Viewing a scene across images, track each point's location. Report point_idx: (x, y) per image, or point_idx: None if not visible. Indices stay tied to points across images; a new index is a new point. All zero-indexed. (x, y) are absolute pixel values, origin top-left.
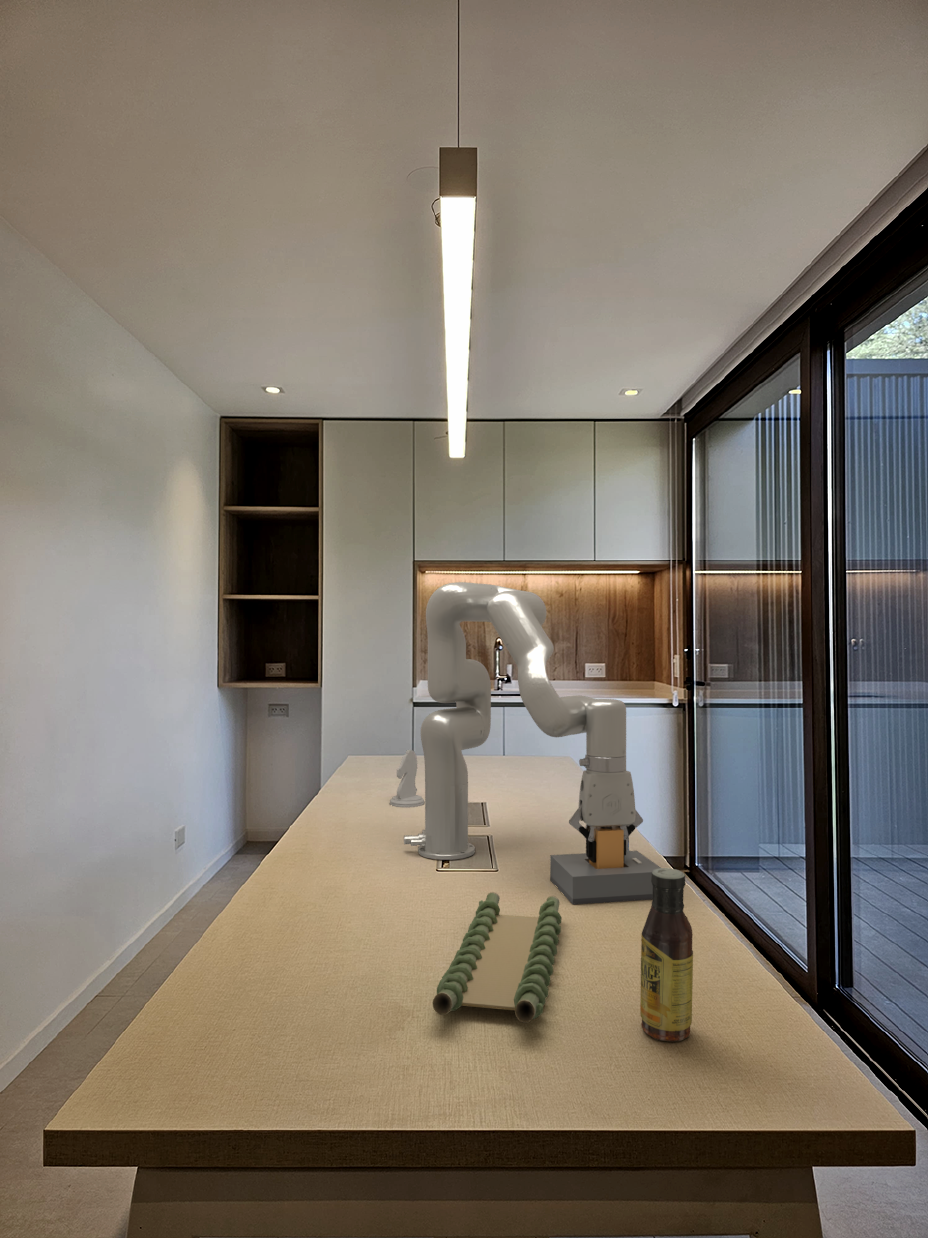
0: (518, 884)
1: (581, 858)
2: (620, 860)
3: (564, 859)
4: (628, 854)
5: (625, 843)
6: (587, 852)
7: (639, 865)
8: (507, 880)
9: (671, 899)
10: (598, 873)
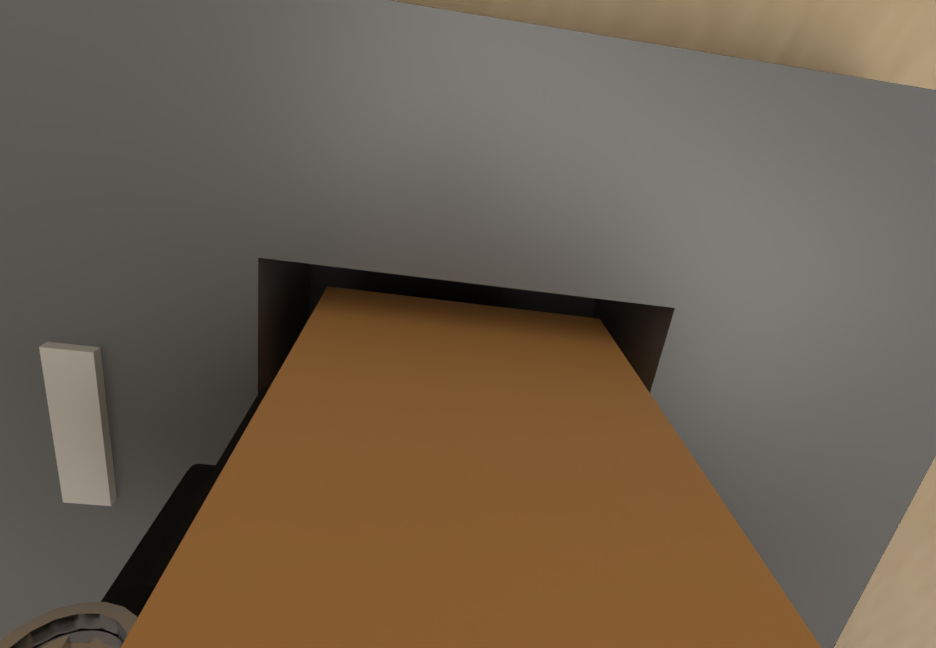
0: (906, 563)
1: None
2: (340, 345)
3: None
4: None
5: (131, 579)
6: None
7: (104, 278)
8: (912, 628)
9: None
10: (754, 142)
